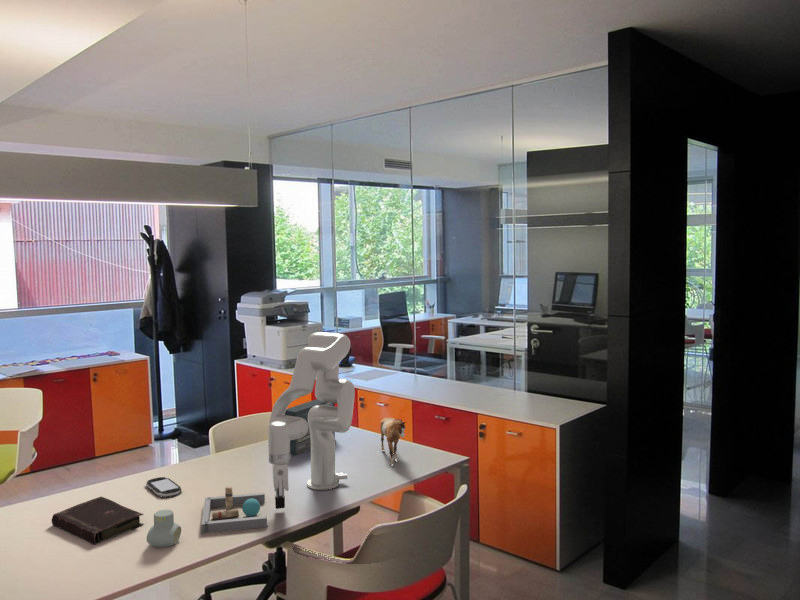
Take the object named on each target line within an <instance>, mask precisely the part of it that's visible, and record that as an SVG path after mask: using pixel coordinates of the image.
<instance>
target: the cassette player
mask: <svg viewBox="0 0 800 600" xmlns="http://www.w3.org/2000/svg"><path fill="white" fill-rule="evenodd" d="M335 404H336V403H331V402H324V401H320V400H318V399H317V398H316V399H313V400H310V401H307V402H303V403H300V404H298V405H295V406H291V407H287V409H286V411H285V415H287V416H293V417H300V418H303V419H305V420H306V421H307V423H308V412H309V410H310V409H311V408H312V407H314V406H316V405H326V406H333V407H336V405H335ZM332 433H333V435H334V438H335V439H336V432H332ZM308 451H311V437H310V429H309V424H308V431H307V433H306V435H305V436H303V437H302V438H299V439H294V440H291V441H290V456H299V455H301V454H303V453H305V452H308Z"/></svg>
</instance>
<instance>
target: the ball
mask: <svg viewBox="0 0 800 600" xmlns="http://www.w3.org/2000/svg"><path fill="white" fill-rule="evenodd" d="M260 510H261V503H259V502H258V501H257V500H256V499H248V500H246V501H245V502H244V504H242V512H243V514H244V515H246V516H247V517H256V516H257V515H258V514H259V512H260Z"/></svg>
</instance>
